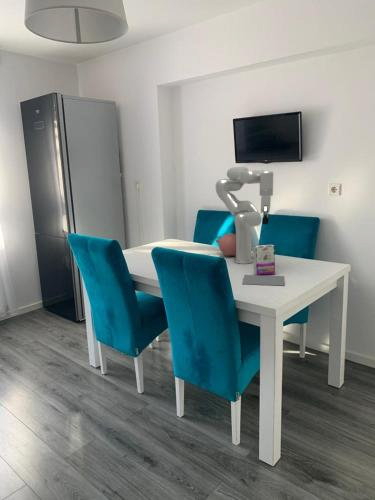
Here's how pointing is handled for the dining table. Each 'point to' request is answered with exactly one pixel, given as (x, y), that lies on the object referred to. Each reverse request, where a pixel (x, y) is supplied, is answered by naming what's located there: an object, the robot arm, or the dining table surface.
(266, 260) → the candy bar box
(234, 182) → the robot arm
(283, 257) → the dining table surface
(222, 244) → the balloon
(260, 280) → the rubber mat
